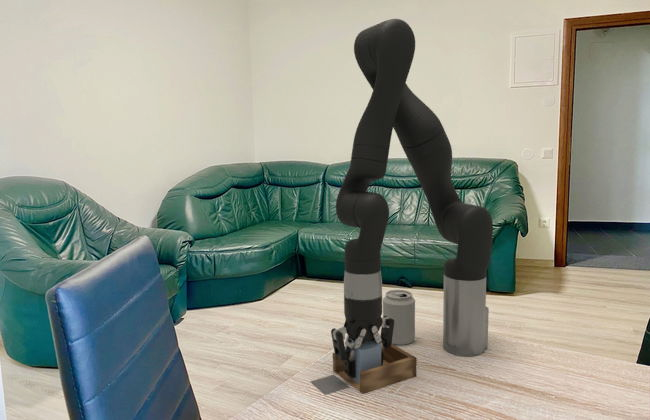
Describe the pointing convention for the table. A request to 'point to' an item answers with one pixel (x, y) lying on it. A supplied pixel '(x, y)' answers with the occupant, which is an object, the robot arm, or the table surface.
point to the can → (400, 315)
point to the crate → (381, 370)
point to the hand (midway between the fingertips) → (363, 372)
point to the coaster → (329, 384)
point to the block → (367, 358)
